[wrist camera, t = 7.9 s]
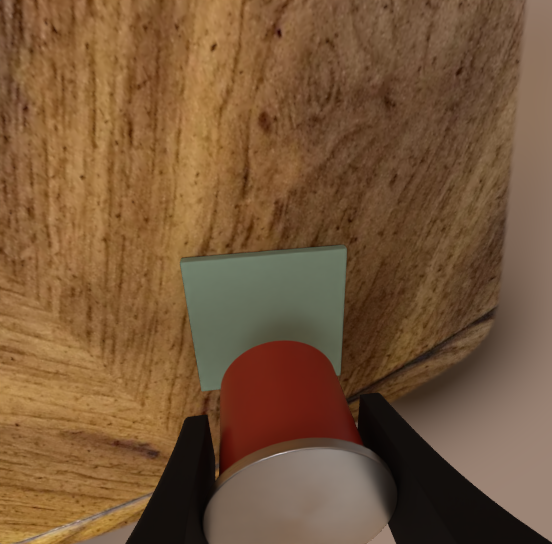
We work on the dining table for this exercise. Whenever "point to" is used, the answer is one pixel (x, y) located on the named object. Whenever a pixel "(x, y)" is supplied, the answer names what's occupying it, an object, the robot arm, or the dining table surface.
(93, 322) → the dining table surface
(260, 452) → the red pod
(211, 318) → the coaster
